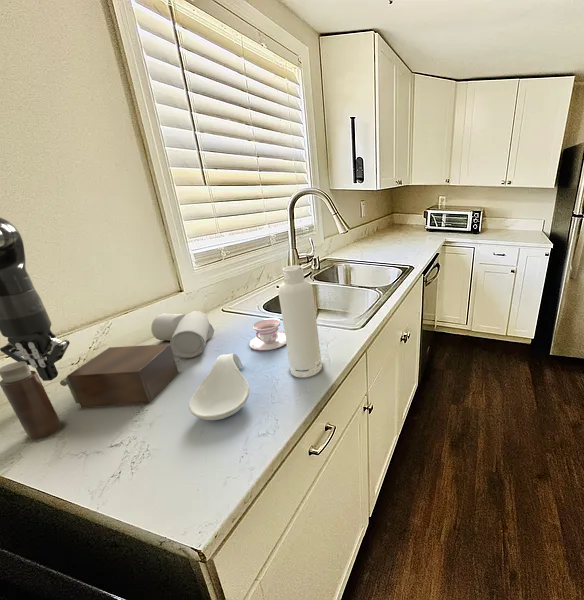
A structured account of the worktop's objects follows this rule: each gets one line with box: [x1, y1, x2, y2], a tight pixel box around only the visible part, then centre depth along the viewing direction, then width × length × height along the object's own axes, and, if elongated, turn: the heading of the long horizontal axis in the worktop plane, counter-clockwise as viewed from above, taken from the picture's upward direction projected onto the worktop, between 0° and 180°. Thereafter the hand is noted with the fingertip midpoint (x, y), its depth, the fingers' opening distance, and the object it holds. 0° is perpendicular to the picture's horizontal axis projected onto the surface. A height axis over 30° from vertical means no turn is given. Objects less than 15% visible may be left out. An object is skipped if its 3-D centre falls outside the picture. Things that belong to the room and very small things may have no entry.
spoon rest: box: [188, 352, 250, 421], centre depth 76 cm, size 24×12×7 cm, turn 20°
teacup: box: [248, 317, 286, 352], centre depth 101 cm, size 12×12×6 cm
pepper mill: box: [0, 361, 63, 440], centre depth 64 cm, size 5×5×16 cm
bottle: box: [277, 264, 323, 378], centre depth 82 cm, size 8×8×28 cm
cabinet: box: [66, 343, 180, 409], centre depth 78 cm, size 15×13×9 cm
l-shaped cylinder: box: [150, 310, 215, 359], centre depth 99 cm, size 18×11×20 cm
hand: (50, 378), depth 77 cm, fingers closed
